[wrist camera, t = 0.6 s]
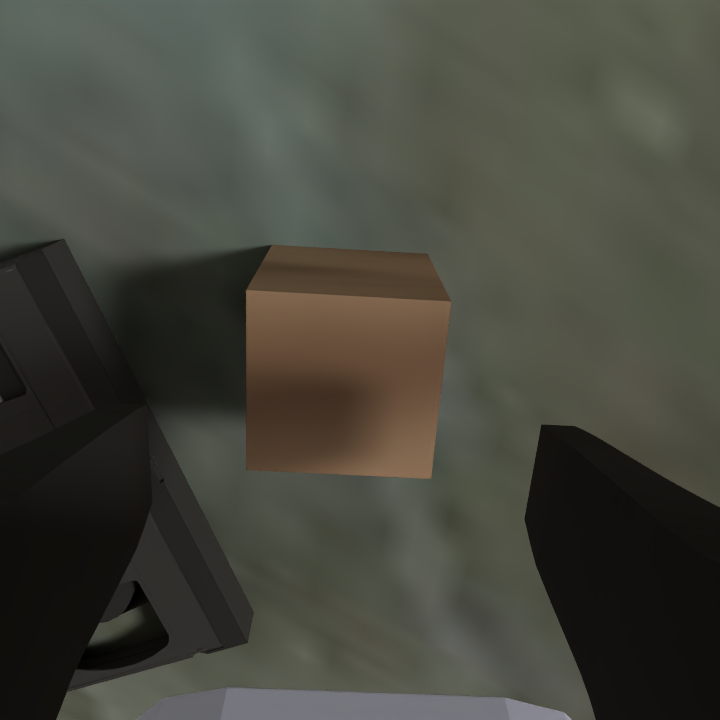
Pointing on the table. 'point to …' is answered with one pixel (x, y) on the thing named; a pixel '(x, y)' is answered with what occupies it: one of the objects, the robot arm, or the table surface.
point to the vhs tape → (169, 486)
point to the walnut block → (344, 362)
